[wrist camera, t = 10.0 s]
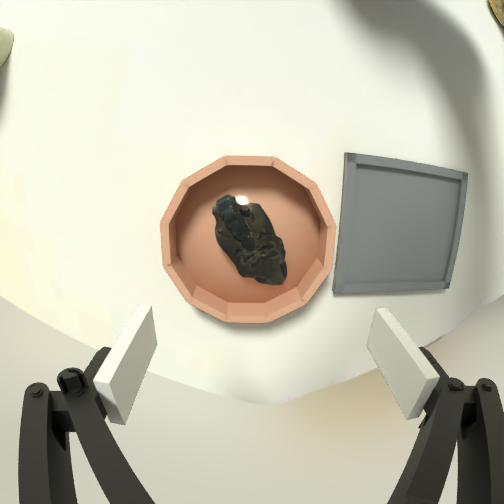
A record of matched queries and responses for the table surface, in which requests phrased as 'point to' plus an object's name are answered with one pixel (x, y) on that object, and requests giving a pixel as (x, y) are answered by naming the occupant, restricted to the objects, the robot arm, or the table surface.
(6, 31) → the can
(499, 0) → the stone
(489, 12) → the table surface
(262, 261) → the stone
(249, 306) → the bowl
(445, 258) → the tray
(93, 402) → the robot arm
